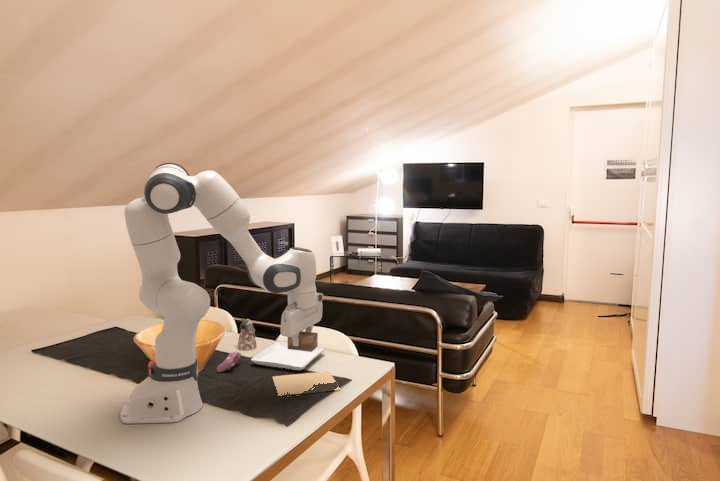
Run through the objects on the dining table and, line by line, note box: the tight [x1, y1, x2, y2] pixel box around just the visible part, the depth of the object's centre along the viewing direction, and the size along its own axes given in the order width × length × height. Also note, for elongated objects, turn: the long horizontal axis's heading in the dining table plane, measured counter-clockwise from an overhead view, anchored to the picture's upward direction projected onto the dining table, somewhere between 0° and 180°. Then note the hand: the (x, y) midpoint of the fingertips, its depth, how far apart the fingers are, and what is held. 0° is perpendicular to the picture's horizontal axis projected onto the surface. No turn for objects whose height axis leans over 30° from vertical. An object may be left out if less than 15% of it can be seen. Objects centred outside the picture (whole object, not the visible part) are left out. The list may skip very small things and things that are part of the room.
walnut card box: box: [287, 330, 319, 352], centre depth 162 cm, size 5×8×5 cm, turn 74°
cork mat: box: [272, 370, 341, 397], centre depth 173 cm, size 20×16×1 cm
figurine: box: [237, 317, 257, 352], centre depth 206 cm, size 7×7×12 cm
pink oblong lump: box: [216, 350, 242, 373], centre depth 185 cm, size 10×5×7 cm, turn 170°
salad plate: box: [250, 341, 325, 371], centre depth 194 cm, size 21×21×3 cm
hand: (302, 342), depth 162 cm, fingers closed on walnut card box, 5 cm apart
